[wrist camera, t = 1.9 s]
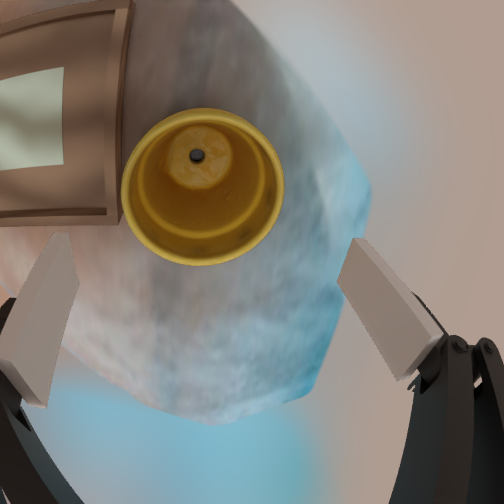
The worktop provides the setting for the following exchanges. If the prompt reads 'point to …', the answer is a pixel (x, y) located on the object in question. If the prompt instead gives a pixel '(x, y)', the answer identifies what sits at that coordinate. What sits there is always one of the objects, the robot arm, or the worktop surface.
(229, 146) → the plant pot
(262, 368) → the worktop surface
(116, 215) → the walnut tray
